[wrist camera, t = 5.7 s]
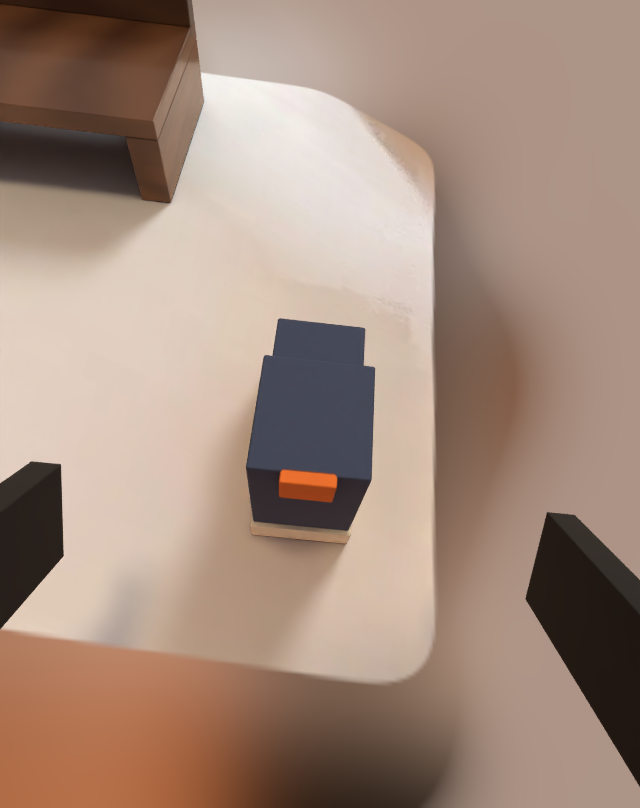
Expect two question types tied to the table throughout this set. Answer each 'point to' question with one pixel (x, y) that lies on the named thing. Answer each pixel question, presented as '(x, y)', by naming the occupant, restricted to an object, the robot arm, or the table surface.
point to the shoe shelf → (107, 76)
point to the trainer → (311, 433)
